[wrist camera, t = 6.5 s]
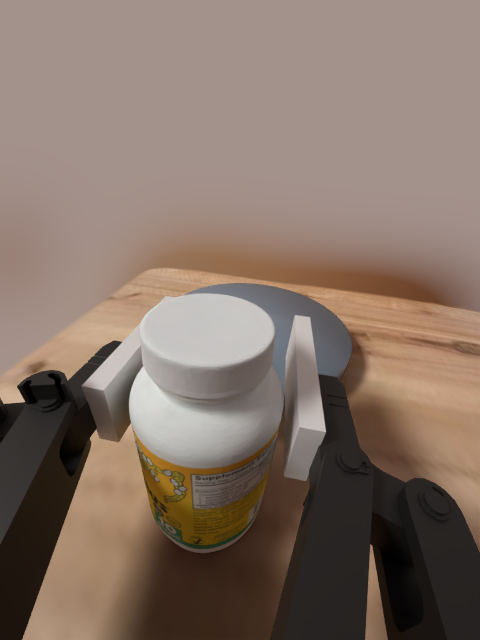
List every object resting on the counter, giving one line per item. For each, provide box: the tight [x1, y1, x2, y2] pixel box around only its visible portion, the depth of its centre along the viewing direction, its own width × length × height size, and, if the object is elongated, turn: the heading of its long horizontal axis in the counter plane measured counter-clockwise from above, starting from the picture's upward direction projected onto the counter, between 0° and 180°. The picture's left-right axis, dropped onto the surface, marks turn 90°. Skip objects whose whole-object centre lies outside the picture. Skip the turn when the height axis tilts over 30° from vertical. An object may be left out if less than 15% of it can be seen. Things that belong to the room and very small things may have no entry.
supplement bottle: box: [129, 293, 284, 553], centre depth 10 cm, size 5×5×10 cm
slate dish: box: [183, 283, 352, 405], centre depth 23 cm, size 16×16×2 cm
